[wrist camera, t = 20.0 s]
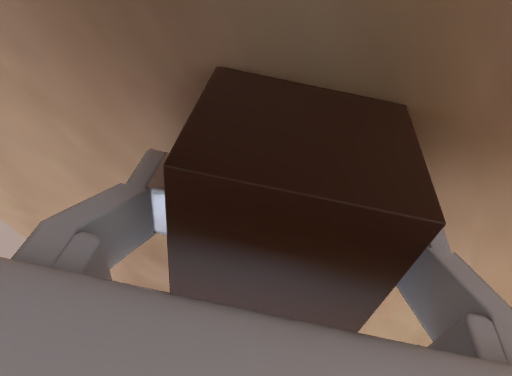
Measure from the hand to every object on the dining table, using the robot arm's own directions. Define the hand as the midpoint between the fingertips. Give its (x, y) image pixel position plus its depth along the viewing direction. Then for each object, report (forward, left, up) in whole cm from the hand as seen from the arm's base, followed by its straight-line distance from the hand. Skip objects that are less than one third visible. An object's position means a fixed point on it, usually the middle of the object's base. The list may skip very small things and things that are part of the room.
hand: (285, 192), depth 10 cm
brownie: (0, 0, -2) cm, 2 cm away
